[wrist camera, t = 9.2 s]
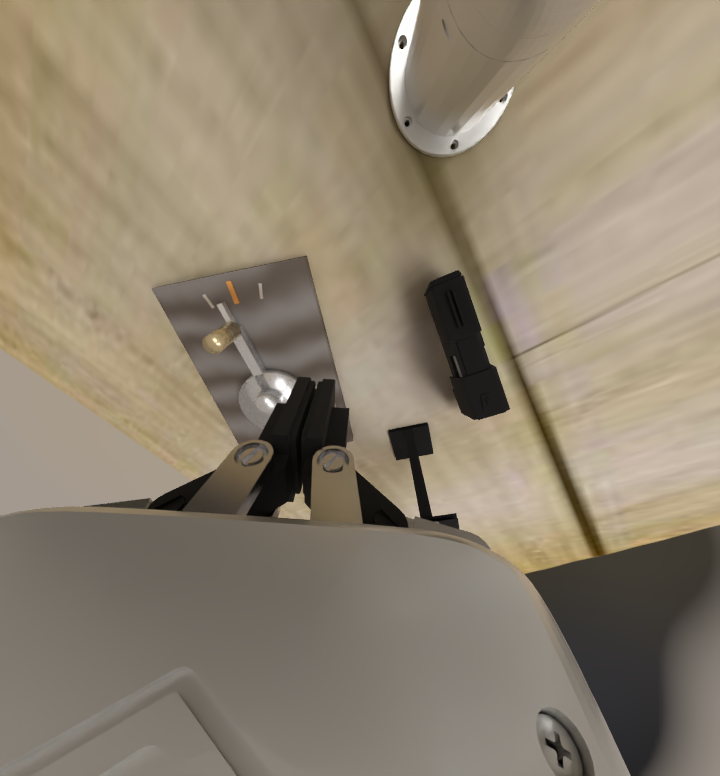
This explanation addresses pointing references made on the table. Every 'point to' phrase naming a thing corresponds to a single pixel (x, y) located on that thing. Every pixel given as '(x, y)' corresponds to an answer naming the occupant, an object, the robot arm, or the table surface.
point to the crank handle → (263, 383)
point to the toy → (465, 348)
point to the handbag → (418, 466)
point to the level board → (253, 330)
